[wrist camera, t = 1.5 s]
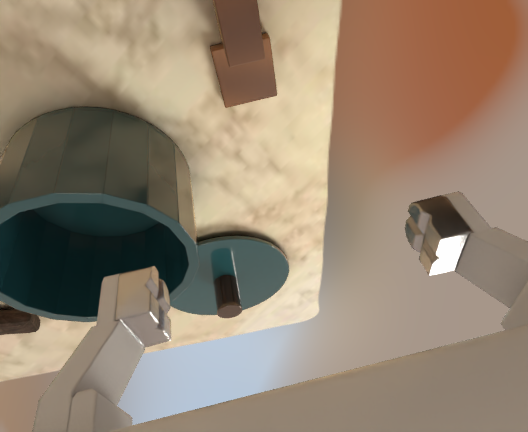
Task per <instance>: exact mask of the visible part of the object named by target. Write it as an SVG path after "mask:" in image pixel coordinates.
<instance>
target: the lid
mask: <svg viewBox="0 0 528 432" xmlns="http://www.w3.org/2000/svg"><path fill="white" fill-rule="evenodd" d="M198 252H199V262H200V265H199V268H198V270H197V272H196V275H195V277H194V279H193V282H192V284H191V285H190V286H189V287H188V288H187V289H186V290H184V291H183V292H182V293H181V294H180V295H179V296H178V297H177V298H176V299H175V300H173V301H171V302H170V306H172V307H174V308H176V309H178V310H180V311H184V312H187V313H192V314H199V315H218V316H219V317H222V318H232V317H235V316H237V315H239V314H240V313H241V312H242V310H245V309H248V308H250V307H253V306H255V305H257V304H260V303H261V302H263V301H265V300H267V299H268V298H270V297H271V296H273V295H274V294H275V293H276V292H277V291H278V290H279V289H280V288H281V287H282V286H283V285H284V283H285V281H286V279H287V277H288V273H289V264H288V261H287V258H286V256H285V254H284V253H283V252H282V251H281V249H279V248H278V247H277V246H275V245H274V244H272V243H270V242H268V241H265V240H262V239H259V238H255V237H248V236H224V237H217V238H212V239H207V240H204V241H201V242H198Z"/></svg>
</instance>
